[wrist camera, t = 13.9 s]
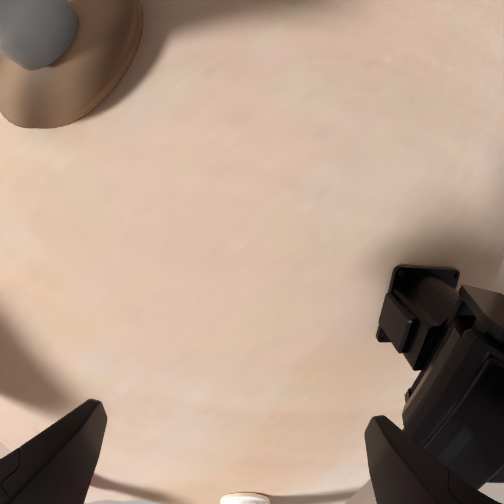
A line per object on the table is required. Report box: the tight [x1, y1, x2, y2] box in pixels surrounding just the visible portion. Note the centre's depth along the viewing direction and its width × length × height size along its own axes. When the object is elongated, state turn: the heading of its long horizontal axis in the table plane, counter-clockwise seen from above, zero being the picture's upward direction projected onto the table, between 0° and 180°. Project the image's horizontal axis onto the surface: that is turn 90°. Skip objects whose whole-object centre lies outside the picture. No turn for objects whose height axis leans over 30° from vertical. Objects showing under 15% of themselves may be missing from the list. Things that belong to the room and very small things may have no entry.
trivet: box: [0, 0, 143, 129], centre depth 14 cm, size 13×13×2 cm
